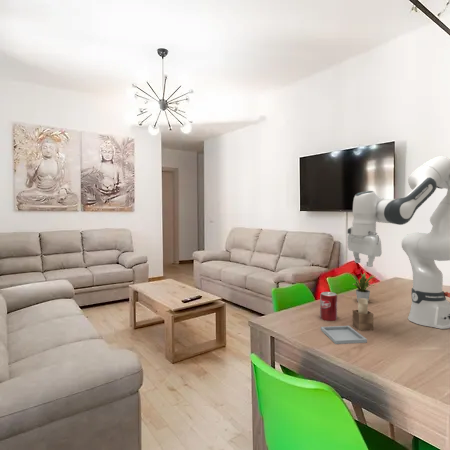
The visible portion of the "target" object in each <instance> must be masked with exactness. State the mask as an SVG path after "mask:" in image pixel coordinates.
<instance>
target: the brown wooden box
mask: <svg viewBox="0 0 450 450" xmlns="http://www.w3.org/2000/svg"><path fill="white" fill-rule="evenodd" d="M352 326H353V327H352ZM352 326H351V327H352V328H355V329H356V330H357V331H359V332H361V331H362V332H366V331H374V313H372V312H371V311H369V310H368V314H360V313H358V309H352Z"/></svg>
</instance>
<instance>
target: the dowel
mask: <svg viewBox="0 0 450 450" xmlns="http://www.w3.org/2000/svg"><path fill="white" fill-rule="evenodd" d="M368 305H369V300H368V299H365V298H359V299H358V301H357V310H358V313H360V314H368V311H369V310H368V309H369V306H368Z"/></svg>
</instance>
